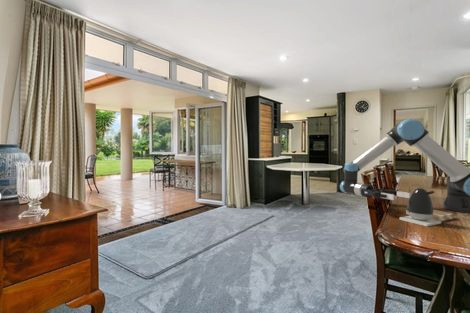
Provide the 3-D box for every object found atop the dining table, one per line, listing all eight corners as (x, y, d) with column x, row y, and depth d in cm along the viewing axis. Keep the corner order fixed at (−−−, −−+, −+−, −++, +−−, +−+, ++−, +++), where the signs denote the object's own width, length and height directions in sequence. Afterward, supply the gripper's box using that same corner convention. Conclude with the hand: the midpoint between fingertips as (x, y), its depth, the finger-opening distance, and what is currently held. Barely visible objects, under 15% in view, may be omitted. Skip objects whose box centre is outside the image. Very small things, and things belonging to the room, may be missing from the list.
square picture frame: (421, 211, 139) (421, 207, 138) (453, 218, 125) (453, 213, 125) (405, 214, 132) (406, 209, 132) (437, 221, 119) (437, 216, 119)
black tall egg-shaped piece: (431, 223, 112) (432, 190, 112) (404, 218, 120) (405, 187, 120) (435, 219, 119) (436, 188, 119) (409, 215, 127) (410, 185, 126)
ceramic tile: (413, 217, 127) (413, 215, 127) (441, 223, 116) (441, 221, 116) (399, 219, 122) (399, 217, 122) (426, 226, 111) (426, 224, 111)
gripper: (378, 195, 151) (415, 201, 132) (349, 198, 140) (386, 205, 121) (378, 183, 151) (416, 188, 132) (350, 184, 140) (386, 190, 121)
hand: (402, 196), depth 127 cm, fingers open, 13 cm apart
